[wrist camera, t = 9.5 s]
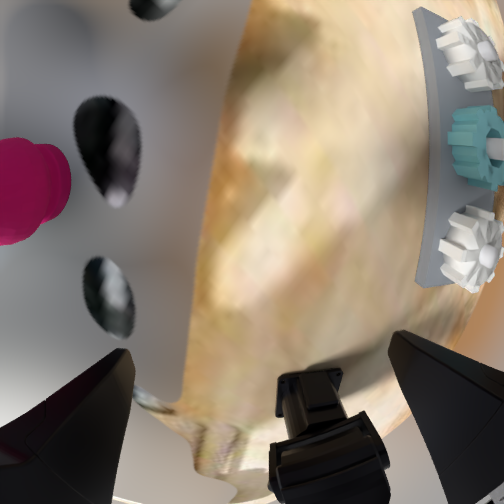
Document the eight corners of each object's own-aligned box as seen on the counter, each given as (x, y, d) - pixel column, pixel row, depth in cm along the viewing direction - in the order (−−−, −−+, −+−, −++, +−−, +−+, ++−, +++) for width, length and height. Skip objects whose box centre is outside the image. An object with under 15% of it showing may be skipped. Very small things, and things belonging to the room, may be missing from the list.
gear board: (470, 273, 23) (503, 294, 17) (414, 281, 22) (450, 309, 17) (472, 43, 14) (506, 35, 9) (412, 11, 13) (446, -8, 8)
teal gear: (490, 189, 18) (511, 195, 15) (446, 180, 17) (471, 186, 15) (490, 118, 16) (512, 118, 13) (445, 97, 15) (469, 93, 12)
